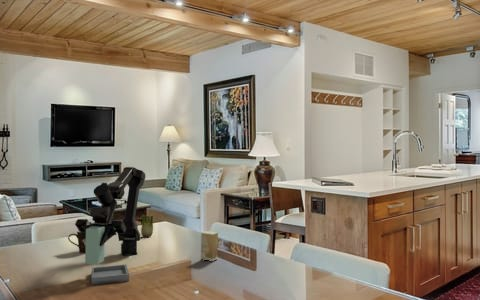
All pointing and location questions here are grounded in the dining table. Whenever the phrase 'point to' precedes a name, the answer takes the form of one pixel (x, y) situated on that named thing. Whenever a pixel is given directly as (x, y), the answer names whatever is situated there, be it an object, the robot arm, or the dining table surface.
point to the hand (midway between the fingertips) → (93, 245)
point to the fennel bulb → (147, 226)
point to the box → (109, 274)
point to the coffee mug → (80, 241)
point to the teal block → (94, 245)
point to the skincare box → (209, 245)
